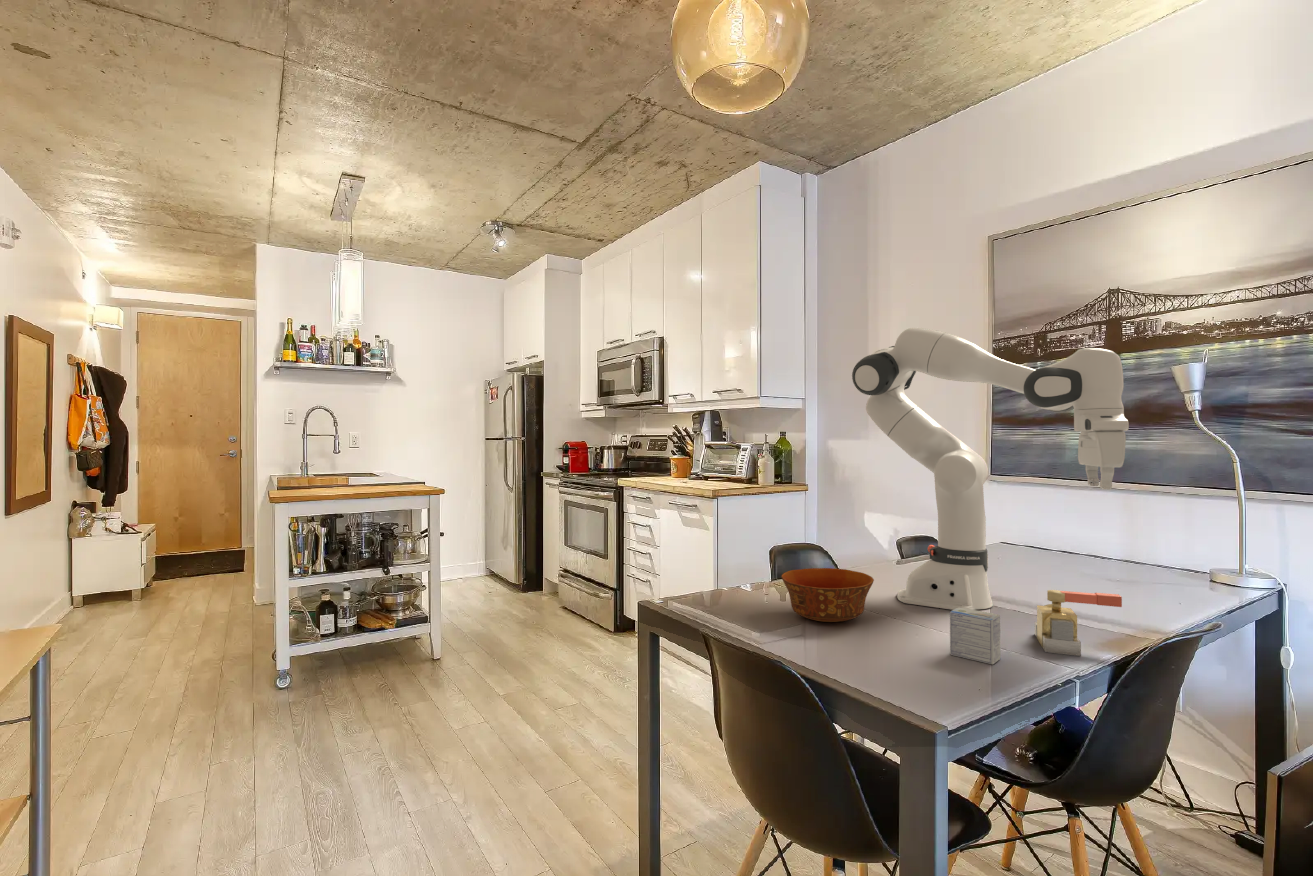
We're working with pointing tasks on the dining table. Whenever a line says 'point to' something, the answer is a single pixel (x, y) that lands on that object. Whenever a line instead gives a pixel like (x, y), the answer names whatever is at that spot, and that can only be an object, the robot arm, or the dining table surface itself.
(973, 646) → the medicine box
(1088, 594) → the lever
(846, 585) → the bowl
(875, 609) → the dining table surface
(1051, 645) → the valve
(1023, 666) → the dining table surface
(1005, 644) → the dining table surface
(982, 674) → the dining table surface
